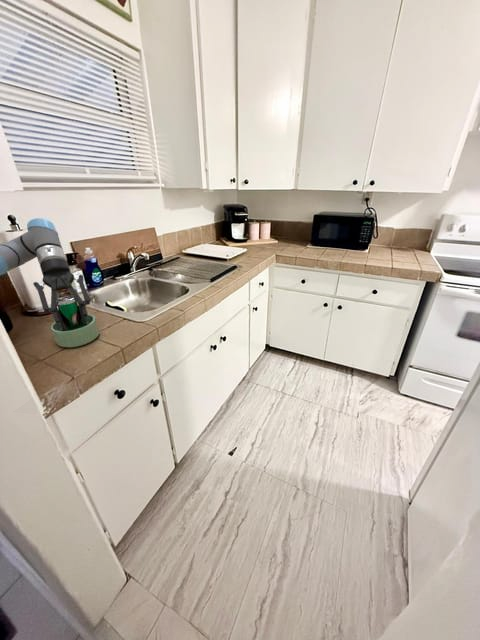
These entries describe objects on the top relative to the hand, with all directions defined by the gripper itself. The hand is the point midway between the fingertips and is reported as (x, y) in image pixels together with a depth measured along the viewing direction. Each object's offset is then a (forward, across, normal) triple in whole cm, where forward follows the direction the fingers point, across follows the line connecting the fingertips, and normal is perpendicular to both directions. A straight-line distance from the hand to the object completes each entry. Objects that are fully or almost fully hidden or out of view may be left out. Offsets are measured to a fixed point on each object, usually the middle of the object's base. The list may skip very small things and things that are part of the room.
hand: (75, 328), depth 80 cm
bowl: (+1, 0, +7) cm, 7 cm away
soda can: (0, 0, +5) cm, 5 cm away
